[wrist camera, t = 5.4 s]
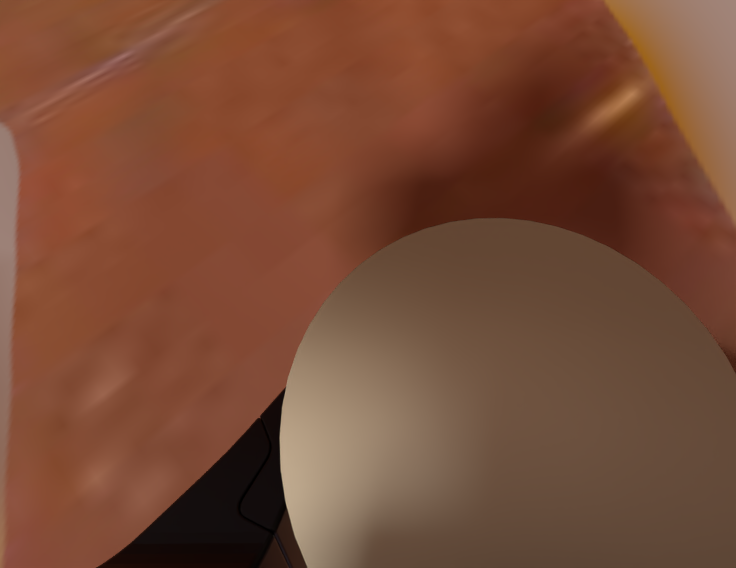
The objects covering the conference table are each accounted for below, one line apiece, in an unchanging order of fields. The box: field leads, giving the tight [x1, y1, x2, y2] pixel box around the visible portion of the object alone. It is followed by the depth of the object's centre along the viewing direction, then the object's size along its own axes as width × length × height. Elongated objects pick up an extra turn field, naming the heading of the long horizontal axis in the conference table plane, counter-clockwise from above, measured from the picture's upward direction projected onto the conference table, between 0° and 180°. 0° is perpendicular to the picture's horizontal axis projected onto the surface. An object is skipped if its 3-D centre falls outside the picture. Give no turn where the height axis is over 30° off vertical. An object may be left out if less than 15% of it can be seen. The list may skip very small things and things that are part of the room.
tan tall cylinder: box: [280, 218, 736, 568], centre depth 8 cm, size 4×4×12 cm
